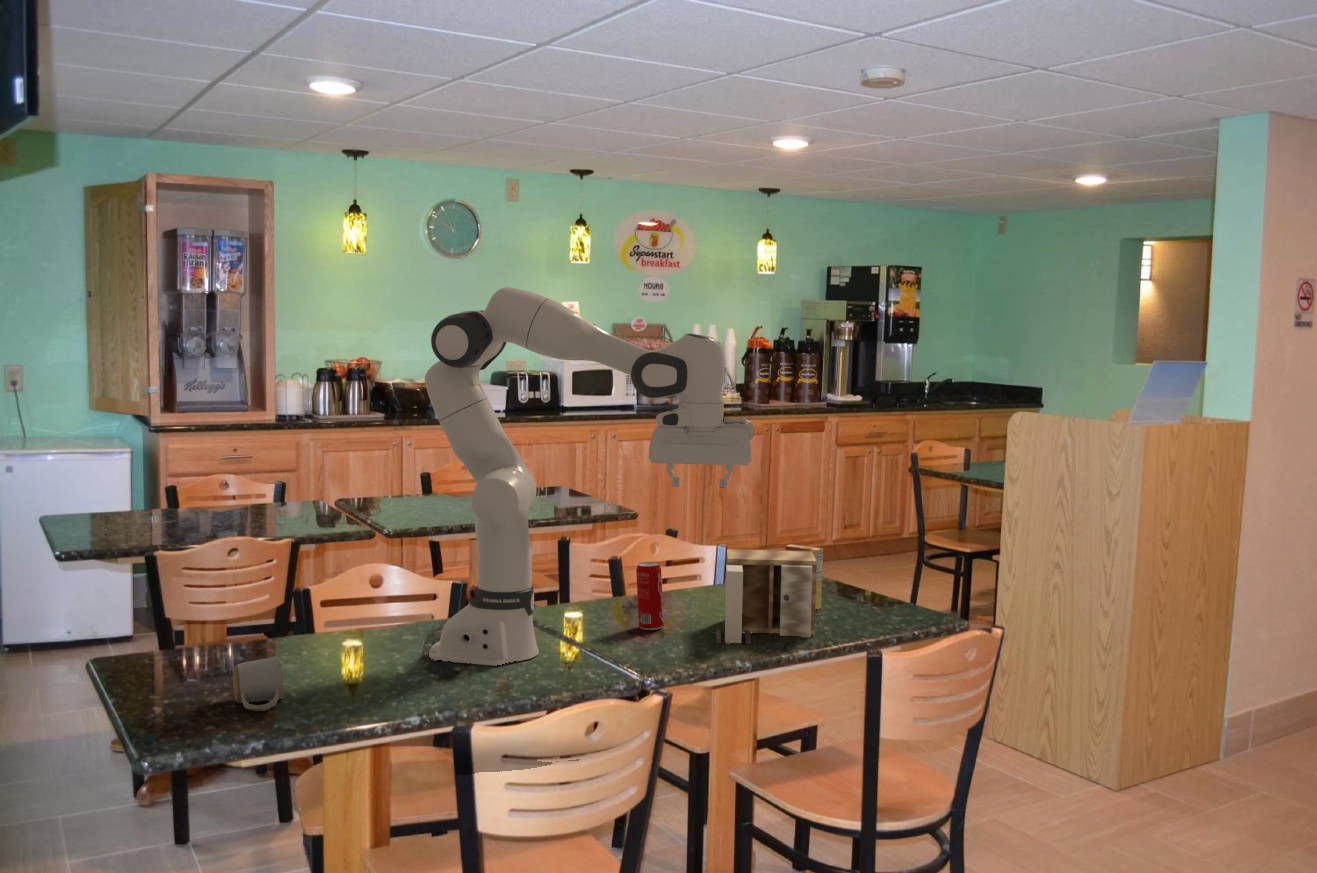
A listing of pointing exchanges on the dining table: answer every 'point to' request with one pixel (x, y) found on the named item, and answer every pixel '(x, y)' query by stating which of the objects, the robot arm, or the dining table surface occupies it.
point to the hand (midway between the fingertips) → (699, 487)
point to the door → (733, 603)
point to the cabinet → (776, 592)
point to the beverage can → (649, 596)
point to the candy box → (819, 558)
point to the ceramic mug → (258, 682)
